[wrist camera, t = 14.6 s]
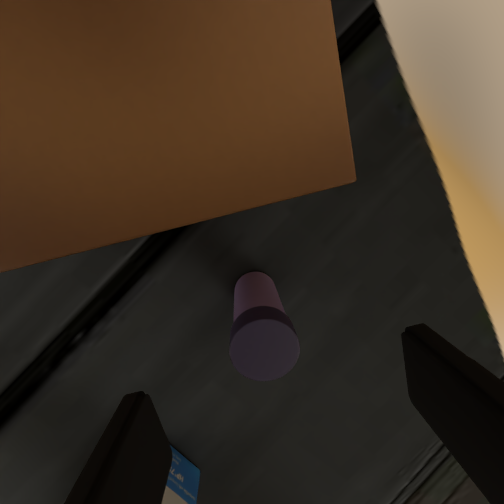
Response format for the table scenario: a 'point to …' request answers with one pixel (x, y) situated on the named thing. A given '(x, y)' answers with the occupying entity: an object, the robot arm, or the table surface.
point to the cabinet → (160, 116)
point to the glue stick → (261, 330)
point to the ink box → (181, 481)
